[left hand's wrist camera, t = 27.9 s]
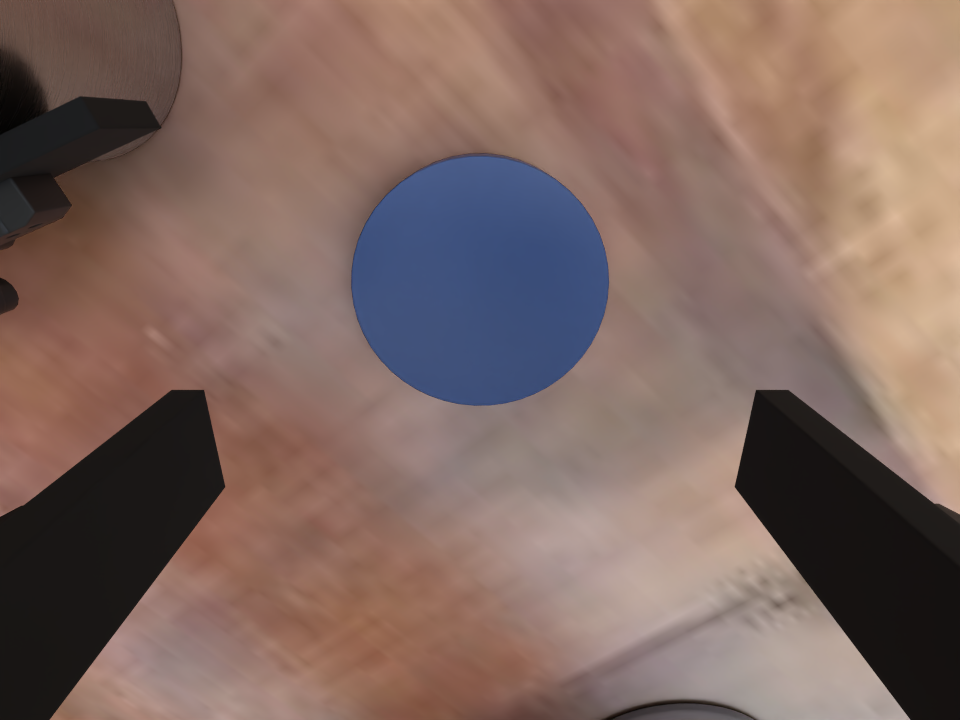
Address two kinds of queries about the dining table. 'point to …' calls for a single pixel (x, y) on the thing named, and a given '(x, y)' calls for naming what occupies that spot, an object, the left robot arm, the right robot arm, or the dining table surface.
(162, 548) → the left robot arm
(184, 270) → the dining table surface
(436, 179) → the lid
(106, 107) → the right robot arm
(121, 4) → the jar
